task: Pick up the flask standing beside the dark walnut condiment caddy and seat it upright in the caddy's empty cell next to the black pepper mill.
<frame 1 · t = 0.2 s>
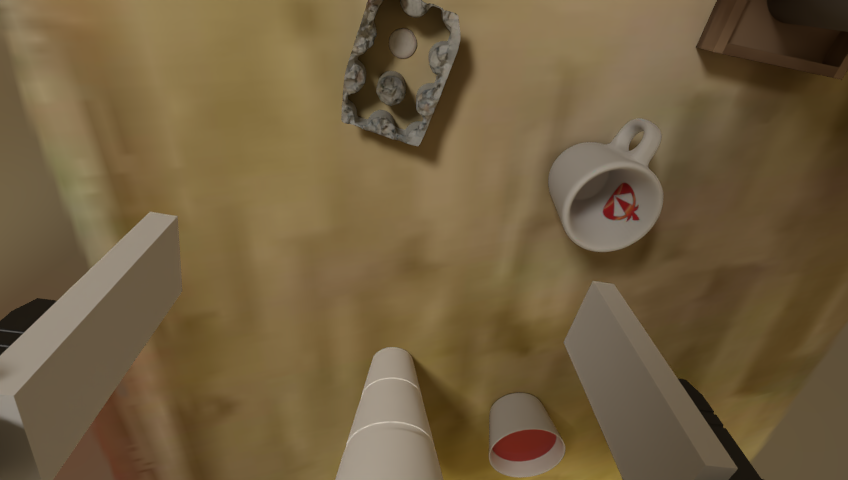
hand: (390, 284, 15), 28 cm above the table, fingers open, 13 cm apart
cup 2: (392, 361, 55), on the table
egg carton: (399, 64, 38), on the table
cup: (588, 158, 43), on the table
candle: (515, 408, 60), on the table
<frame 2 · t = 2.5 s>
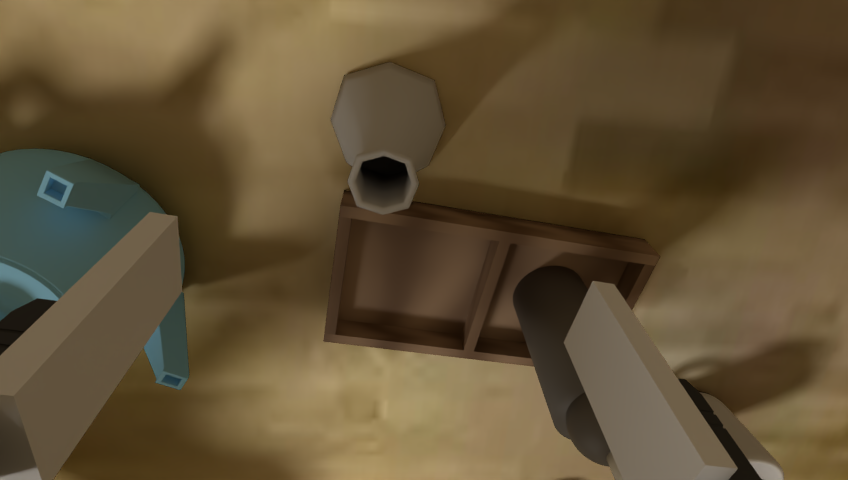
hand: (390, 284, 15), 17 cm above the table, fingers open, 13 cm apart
flask: (388, 120, 30), on the table
teapot: (96, 236, 33), on the table
pepper mill: (548, 295, 36), point 1 cm above the table, touching caddy
caddy: (480, 281, 36), on the table
cup: (671, 404, 44), on the table
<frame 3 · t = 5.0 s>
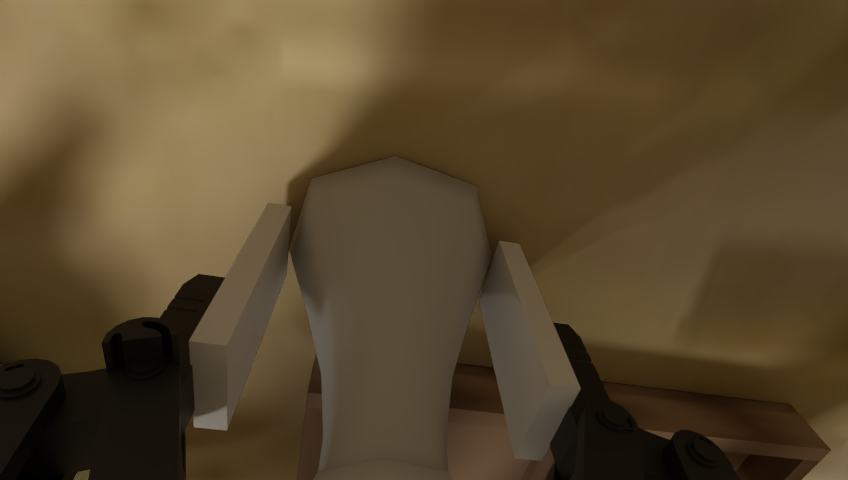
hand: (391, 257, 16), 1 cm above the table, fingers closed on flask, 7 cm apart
flask: (392, 245, 17), on the table, touching gripper
caddy: (530, 458, 23), on the table
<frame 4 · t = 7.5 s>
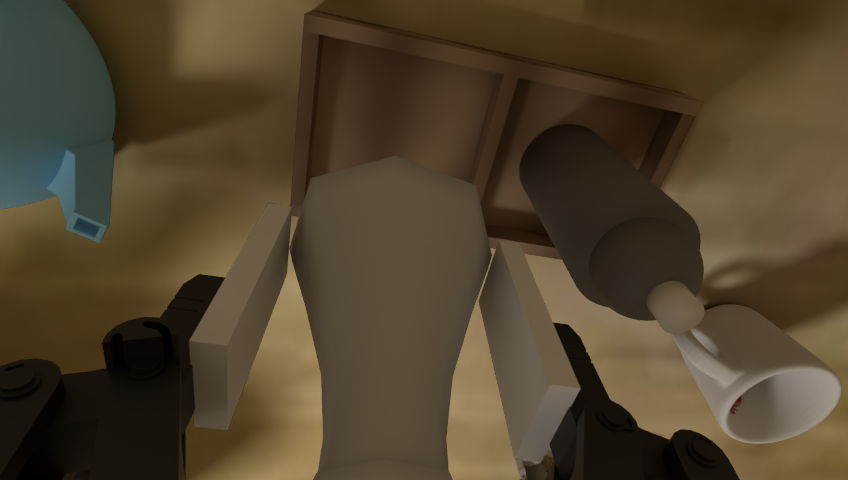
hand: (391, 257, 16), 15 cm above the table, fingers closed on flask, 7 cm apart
flask: (392, 245, 17), point 14 cm above the table, touching gripper
teapot: (8, 72, 27), on the table
pepper mill: (562, 166, 30), point 1 cm above the table, touching caddy
egg carton: (566, 449, 47), on the table
caddy: (480, 148, 30), on the table
cup: (700, 322, 38), on the table
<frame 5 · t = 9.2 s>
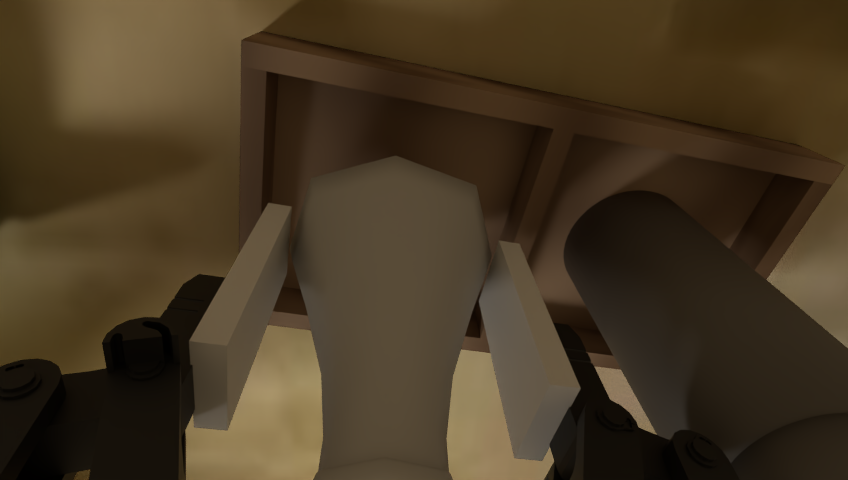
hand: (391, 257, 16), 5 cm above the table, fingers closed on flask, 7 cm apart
flask: (392, 245, 17), point 4 cm above the table, touching gripper
pepper mill: (624, 246, 21), point 1 cm above the table, touching caddy
caddy: (509, 221, 21), on the table
when the fingers open (4 cm above the table, at t = 10.2 s): flask drops 2 cm, resting on caddy.
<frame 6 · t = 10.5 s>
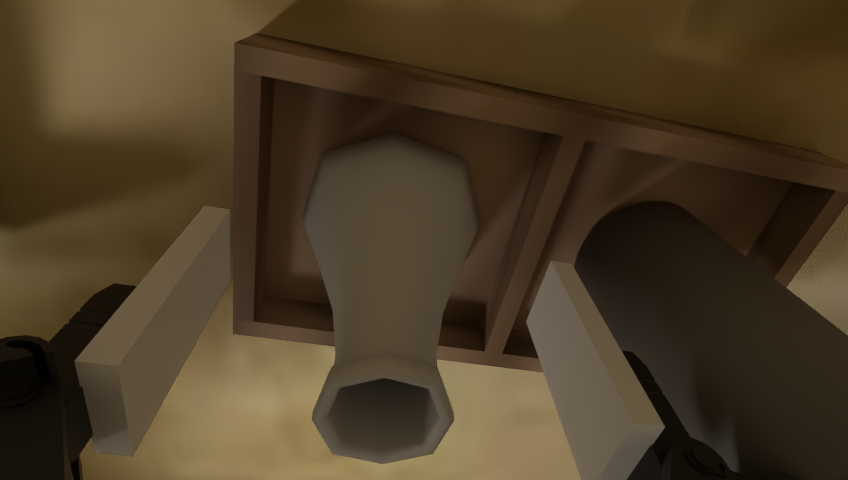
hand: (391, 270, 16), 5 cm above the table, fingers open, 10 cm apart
flask: (392, 214, 19), resting on caddy
pepper mill: (636, 258, 20), point 1 cm above the table, touching caddy, gripper
caddy: (515, 230, 20), on the table
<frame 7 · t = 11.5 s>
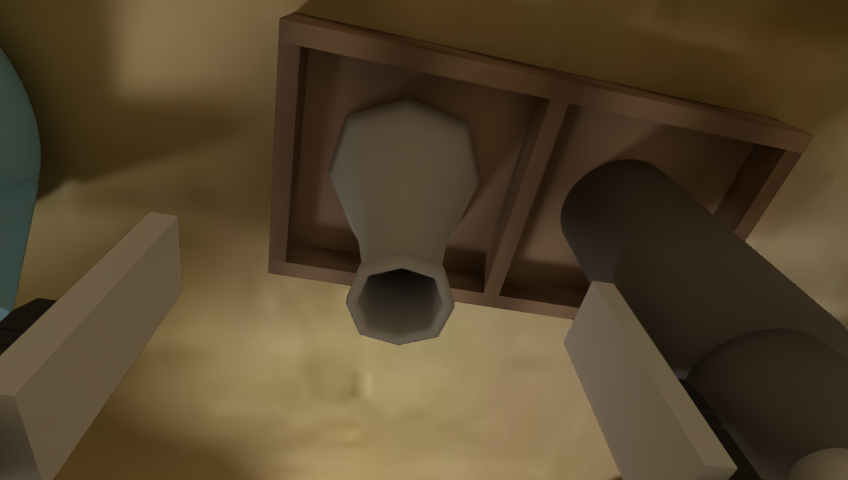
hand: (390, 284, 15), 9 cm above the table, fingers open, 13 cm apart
flask: (405, 171, 22), resting on caddy
pepper mill: (615, 211, 23), point 1 cm above the table, touching caddy
caddy: (511, 187, 23), on the table
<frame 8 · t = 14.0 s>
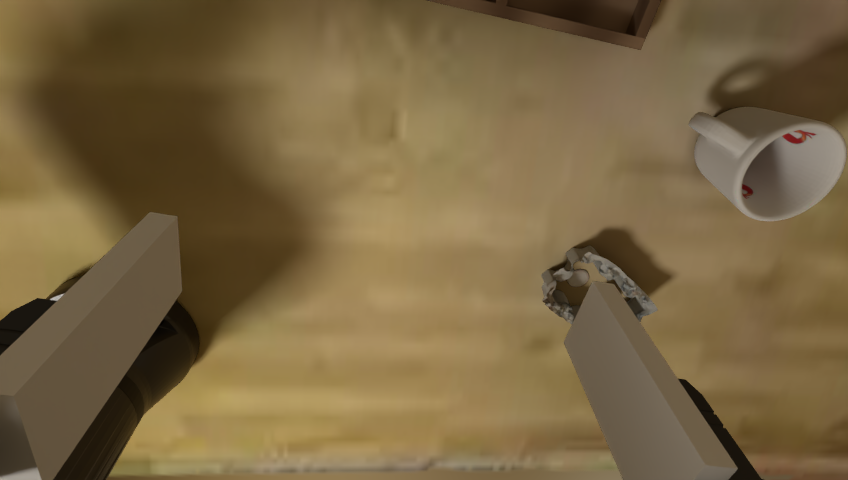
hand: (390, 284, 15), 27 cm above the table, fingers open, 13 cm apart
egg carton: (588, 282, 49), on the table
cup: (713, 133, 41), on the table
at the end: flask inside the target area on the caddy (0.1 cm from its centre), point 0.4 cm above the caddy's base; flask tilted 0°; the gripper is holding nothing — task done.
